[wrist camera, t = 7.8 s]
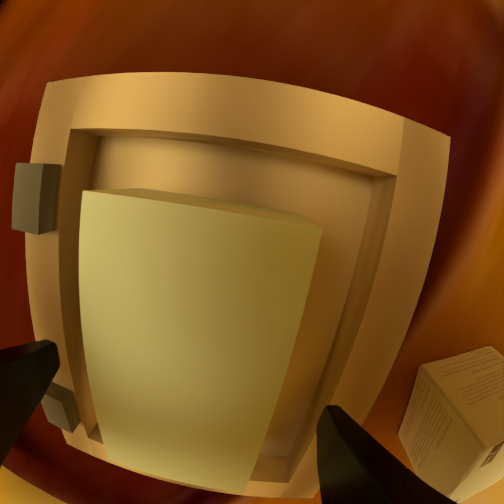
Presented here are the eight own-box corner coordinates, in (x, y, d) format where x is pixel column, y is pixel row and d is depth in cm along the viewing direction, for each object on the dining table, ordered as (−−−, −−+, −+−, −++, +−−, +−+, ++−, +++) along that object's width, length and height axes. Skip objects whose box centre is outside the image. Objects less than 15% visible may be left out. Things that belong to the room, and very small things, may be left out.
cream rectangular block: (135, 406, 13) (108, 459, 9) (141, 188, 10) (82, 190, 6) (248, 431, 13) (244, 492, 9) (299, 213, 10) (322, 229, 6)
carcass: (86, 415, 14) (60, 453, 10) (84, 98, 10) (32, 76, 6) (307, 463, 14) (314, 510, 11) (411, 146, 10) (467, 133, 6)
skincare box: (463, 411, 14) (508, 475, 7) (394, 434, 14) (431, 517, 7) (490, 341, 12) (559, 401, 5) (417, 361, 13) (485, 453, 6)
